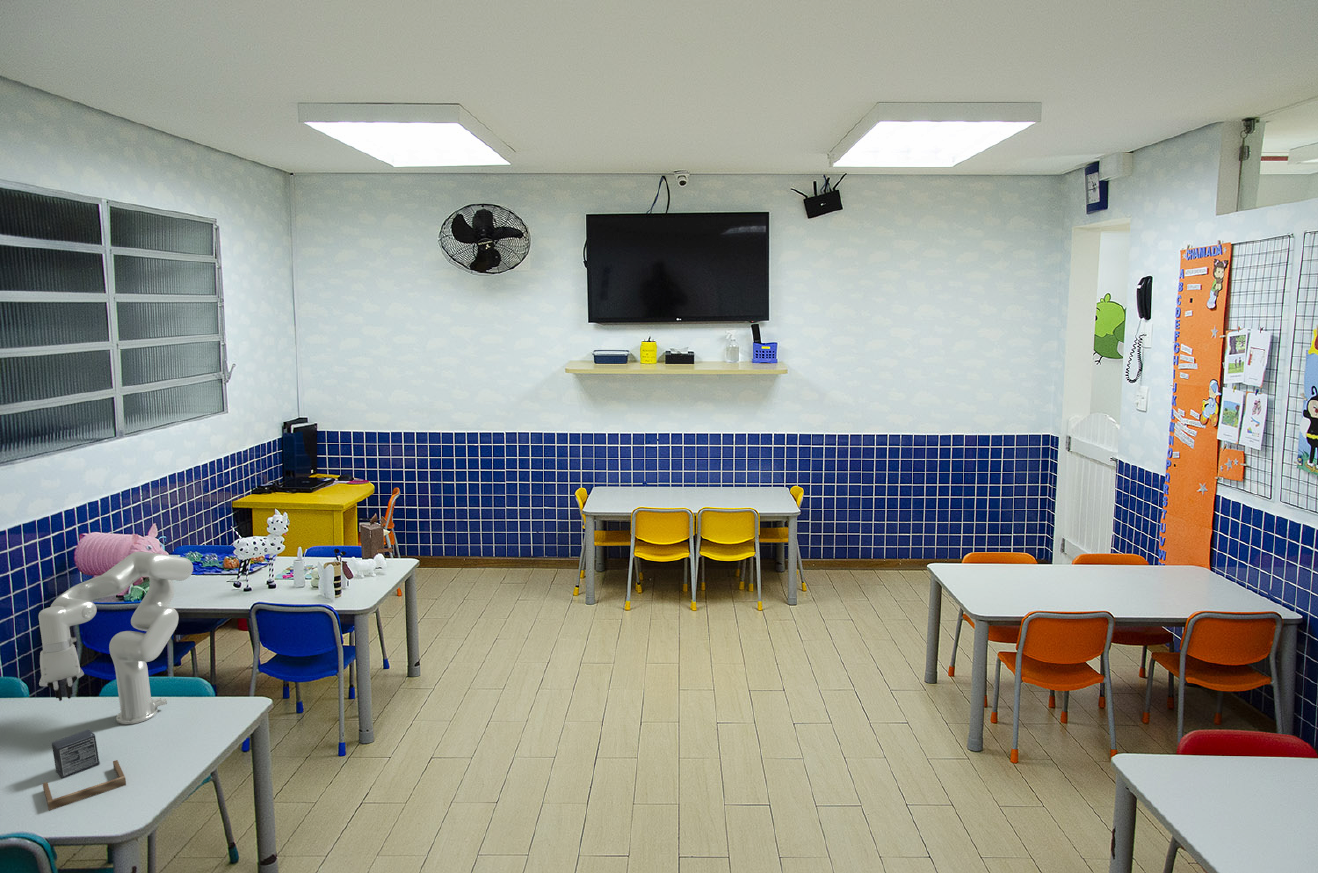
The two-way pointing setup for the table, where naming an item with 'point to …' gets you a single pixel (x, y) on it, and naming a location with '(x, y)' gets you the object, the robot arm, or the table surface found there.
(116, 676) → the robot arm
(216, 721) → the table surface
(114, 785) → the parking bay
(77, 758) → the small box
